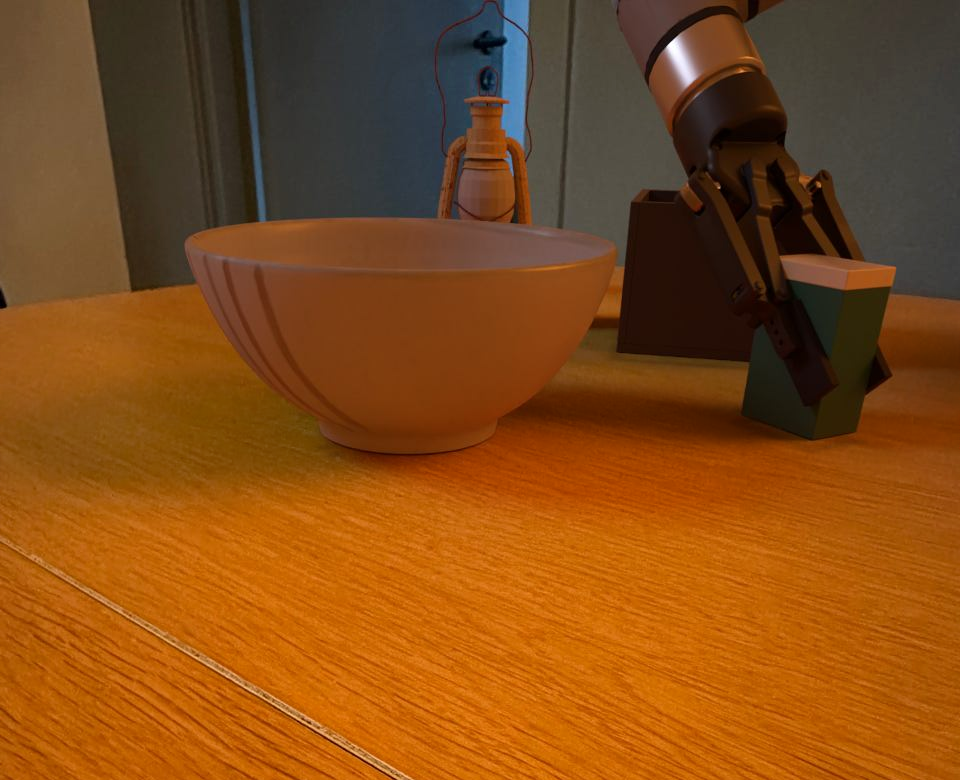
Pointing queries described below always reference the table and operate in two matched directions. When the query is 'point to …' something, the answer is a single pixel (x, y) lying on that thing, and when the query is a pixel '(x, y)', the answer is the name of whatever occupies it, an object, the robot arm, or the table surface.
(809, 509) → the table surface
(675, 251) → the waste bin
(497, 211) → the lantern
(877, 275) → the block
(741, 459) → the table surface
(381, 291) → the decorative bowl
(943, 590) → the table surface
